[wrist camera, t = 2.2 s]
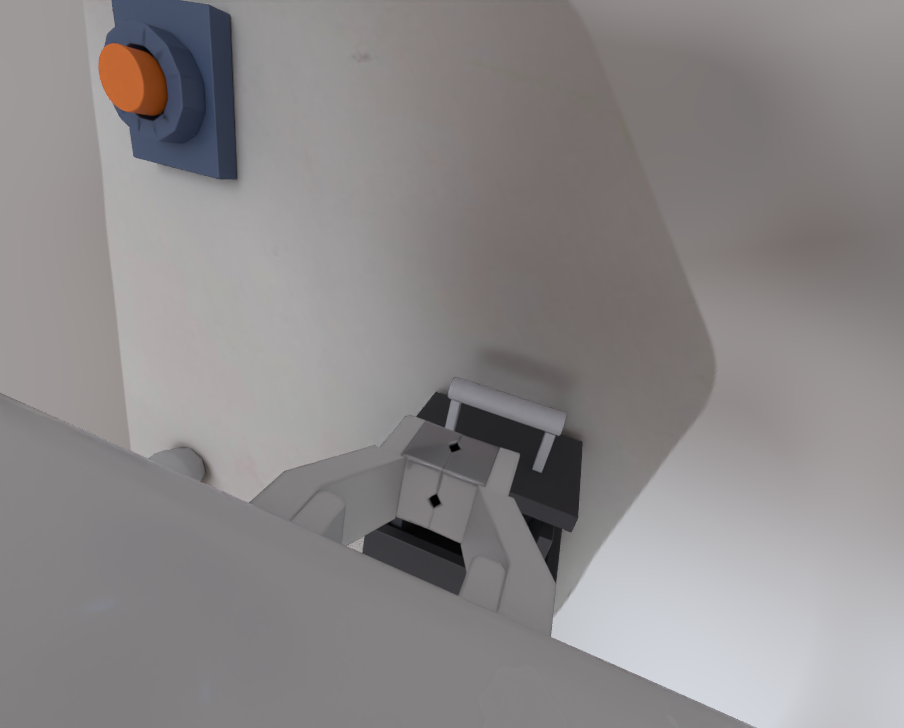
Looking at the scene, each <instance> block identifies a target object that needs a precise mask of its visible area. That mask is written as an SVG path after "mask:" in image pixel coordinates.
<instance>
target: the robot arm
mask: <svg viewBox="0 0 904 728" xmlns="http://www.w3.org/2000/svg"><path fill="white" fill-rule="evenodd" d="M519 457H520V454H519V453H517V452H514V451H510V450H507V449H504V448H501V447H500V448H499V447H497V446H494V445H491V444H488V443H485V442H482V441H479V440H476V439H473V438H470V437H468V436H465V435H463V434H460V433H458V432H455V431H453V430H450V429H447V428H445V427H442V426H439V425H437V424H434V423H432V422H429V421H426V420H423V419H421V418H418V417H415V416H412V415H407V416H405V418H404V419H403V420H402V421H401V422H400V424H399V425H398V426H397V427H396V428H395V429H394V431H393V432H392V433H391V434H390V435H389V437H388V438H387V439H386V440H385V441H384V442H383V444H382V445H381V446H380V447H378V446H375V445H374V446H370V447H367V448H363V449H360V450H356V451H353V452H349V453H346V454H342V455H339V456H335V457H332V458H328V459H325V460H321V461H318V462H314V463H311V464H307V465H304V466H300V467H297V468H293V469H290V470H286V471H284V472H283V473H282V474H281V475H279V476H278V477H277V478H276V479H275V480H274V481H273V482H272V483H270V484H269V485H268V486H267V487H266V488H265V489H264V490H263V491H262V492H260V493H259V494H258V495H257V496H256V497H255V498H254V499H253V500H252V501H250V502H249V503H248V502H245V501H243V500H241V499H238V498H236V497H234V496H232V495H229V494H227V493H225V492H223V491H220V490H218V489H216V488H214V487H211V486H209V485H207V484H205V483H202V482H200V481H198V480H196V479H193V478H191V477H189V476H187V475H184V474H182V473H180V472H177V471H175V470H173V469H171V468H168V467H166V466H164V465H162V464H159V463H157V462H155V461H153V460H150V459H148V458H146V457H144V456H141V455H139V454H137V453H135V452H132V451H130V450H128V449H125V448H123V447H121V446H119V445H117V444H114V443H112V442H110V441H107V440H105V439H103V438H101V437H98V436H96V435H94V434H92V433H89V432H87V431H85V430H83V429H80V428H78V427H76V426H74V425H71V424H69V423H67V422H65V421H62V420H60V419H58V418H56V417H53V416H51V415H49V414H47V413H44V412H42V411H40V410H37V409H35V408H33V407H31V406H28V405H26V404H24V403H22V402H20V401H17V400H15V399H13V398H11V397H8V396H6V395H4V394H1V393H0V728H756V727H754V726H751V725H749V724H747V723H745V722H742V721H740V720H738V719H736V718H733V717H731V716H729V715H726V714H724V713H722V712H720V711H717V710H715V709H713V708H711V707H708V706H706V705H704V704H702V703H699V702H697V701H695V700H693V699H690V698H688V697H686V696H684V695H681V694H679V693H677V692H675V691H672V690H670V689H668V688H665V687H663V686H661V685H659V684H657V683H654V682H652V681H650V680H648V679H645V678H643V677H641V676H638V675H636V674H634V673H632V672H629V671H627V670H625V669H622V668H620V667H618V666H616V665H613V664H611V663H609V662H607V661H604V660H602V659H600V658H597V657H595V656H593V655H591V654H588V653H586V652H583V651H581V650H579V649H577V648H575V647H572V646H570V645H568V644H566V643H563V642H561V641H559V640H557V639H554V638H552V637H551V630H552V621H553V612H554V602H555V593H556V583H555V581H554V579H553V577H552V575H551V573H550V571H549V569H548V567H547V565H546V563H545V561H544V559H543V557H542V555H541V552H540V550H539V548H538V546H537V544H536V542H535V540H534V538H533V536H532V534H531V532H530V530H529V528H528V526H527V524H526V522H525V520H524V518H523V516H522V514H521V512H520V510H519V508H518V506H517V504H516V501H515V499H514V498H512V497H509V496H508V495H509V492H510V488H511V485H512V482H513V478H514V475H515V471H516V468H517V464H518V461H519ZM395 517H398V518H401V519H403V520H406V521H409V522H411V523H414V524H416V525H419V526H422V527H424V528H427V529H429V530H432V531H434V532H436V533H438V534H440V535H443V536H445V537H447V538H449V539H452V540H454V541H456V542H458V543H461V549H462V553H463V558H464V563H465V567H466V572H467V573H466V576H465V579H464V582H463V584H462V587H461V590H460V593H459V596H458V595H455V594H453V593H451V592H449V591H446V590H444V589H442V588H440V587H438V586H435V585H433V584H431V583H429V582H426V581H424V580H422V579H419V578H417V577H415V576H413V575H410V574H408V573H406V572H404V571H401V570H399V569H397V568H395V567H392V566H390V565H388V564H385V563H383V562H381V561H379V560H376V559H374V558H372V557H370V556H367V555H365V554H363V553H361V552H358V551H356V550H354V549H352V548H349V547H347V545H349V544H351V543H353V542H354V541H356V540H358V539H360V538H361V537H363V536H365V535H367V534H369V533H370V532H372V531H374V530H376V529H377V528H379V527H381V526H383V525H385V524H386V523H388V522H390V521H392V520H393V519H395Z"/></svg>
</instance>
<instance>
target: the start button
mask: <svg viewBox="0 0 904 728" xmlns="http://www.w3.org/2000/svg"><path fill="white" fill-rule="evenodd" d="M99 75H100V79H101V83H102V86H103V88H104V90H105V92H106V94H107V96H108V97H109V99H110V100H111V101H112V102H113V104H114V105H116V106H117V107H118V108H119V109H121V110H123V111H126V112H131V113H137V114H144V115H150V116H156V115H159V114H161V113H162V112H163V111H164V109H165V107H166V104H167V101H168V92H167V83H166V77H165V75H164V72H163V70H162V68H161V66H160V64H159V63H158V62H157V61H156V59H155V58H154V57H152V56H151V55H150V54H148V53H147V52H144V51H141V50H138V49H134V48H131V47H127V46H124V45H121V44H117V43H111V44H108V45H107V46H105V47H104V48H103V50H102V52H101V54H100V57H99Z"/></svg>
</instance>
